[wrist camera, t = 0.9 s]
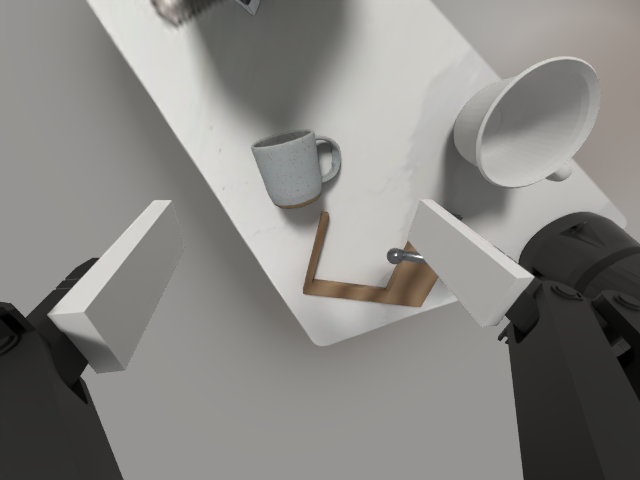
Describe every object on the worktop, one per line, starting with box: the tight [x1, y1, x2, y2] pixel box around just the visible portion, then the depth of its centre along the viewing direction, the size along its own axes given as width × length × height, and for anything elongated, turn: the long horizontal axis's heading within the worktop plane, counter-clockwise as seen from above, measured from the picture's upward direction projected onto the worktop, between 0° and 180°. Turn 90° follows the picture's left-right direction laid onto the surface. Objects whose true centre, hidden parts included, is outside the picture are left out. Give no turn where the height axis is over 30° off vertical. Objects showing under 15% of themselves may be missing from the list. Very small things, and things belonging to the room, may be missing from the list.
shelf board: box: [303, 211, 439, 307], centre depth 43 cm, size 24×16×2 cm, turn 77°
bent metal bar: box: [387, 214, 463, 264], centre depth 33 cm, size 17×4×14 cm, turn 77°
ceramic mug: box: [251, 130, 341, 209], centre depth 30 cm, size 11×8×8 cm
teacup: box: [454, 56, 601, 188], centre depth 29 cm, size 12×15×10 cm
